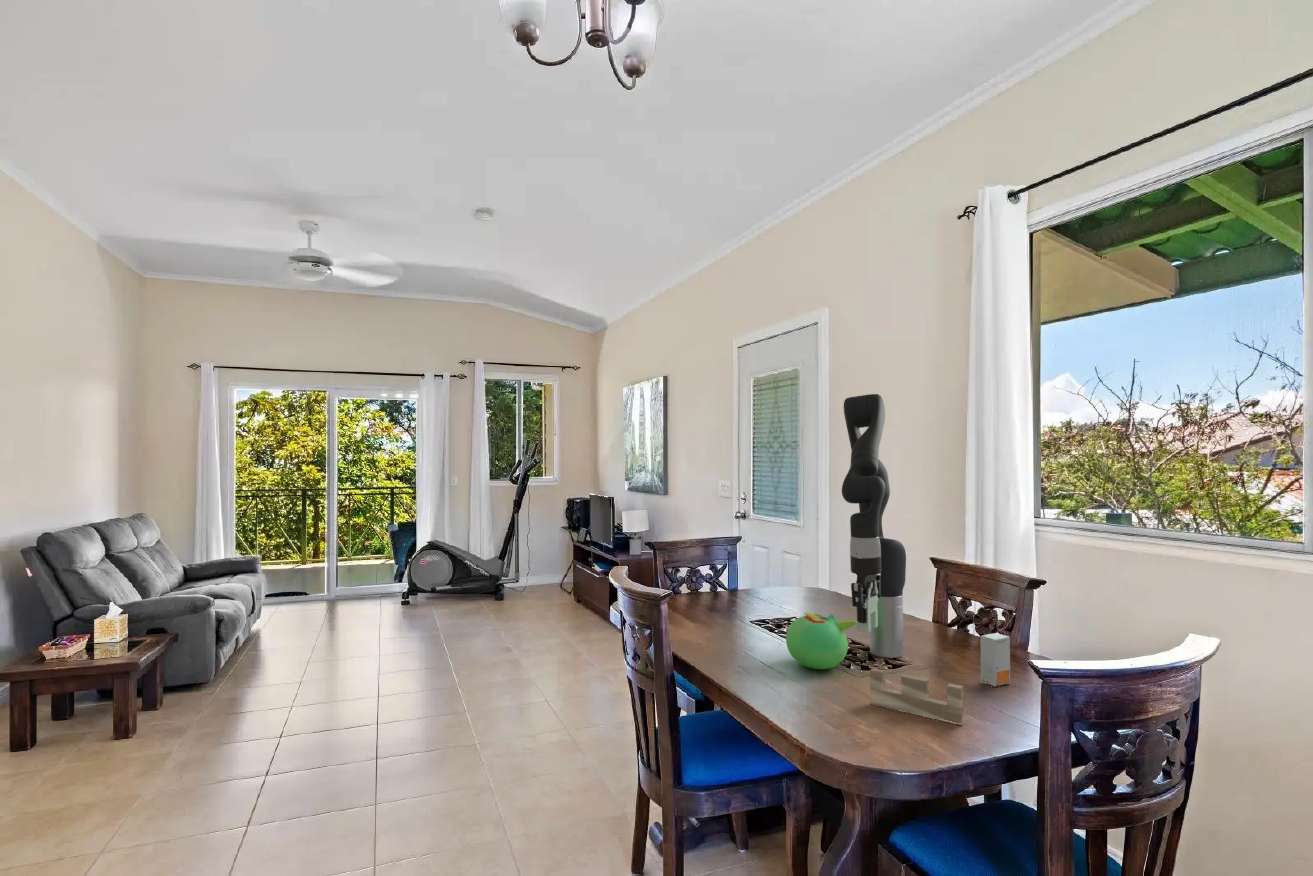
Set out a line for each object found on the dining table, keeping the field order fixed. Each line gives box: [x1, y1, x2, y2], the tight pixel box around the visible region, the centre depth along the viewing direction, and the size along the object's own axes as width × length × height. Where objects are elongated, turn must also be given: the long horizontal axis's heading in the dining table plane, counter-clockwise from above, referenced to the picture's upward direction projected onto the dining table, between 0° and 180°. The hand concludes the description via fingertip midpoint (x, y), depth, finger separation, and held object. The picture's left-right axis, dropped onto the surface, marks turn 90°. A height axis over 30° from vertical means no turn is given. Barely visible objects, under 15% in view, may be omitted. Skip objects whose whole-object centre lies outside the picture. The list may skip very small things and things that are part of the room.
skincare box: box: [980, 632, 1011, 685], centre depth 173 cm, size 6×4×12 cm
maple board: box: [869, 667, 965, 723], centre depth 154 cm, size 2×20×8 cm, turn 50°
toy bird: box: [785, 612, 857, 670], centre depth 187 cm, size 18×17×15 cm
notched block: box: [855, 595, 878, 633], centre depth 175 cm, size 6×3×8 cm, turn 141°
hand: (867, 619), depth 174 cm, fingers closed on notched block, 6 cm apart
